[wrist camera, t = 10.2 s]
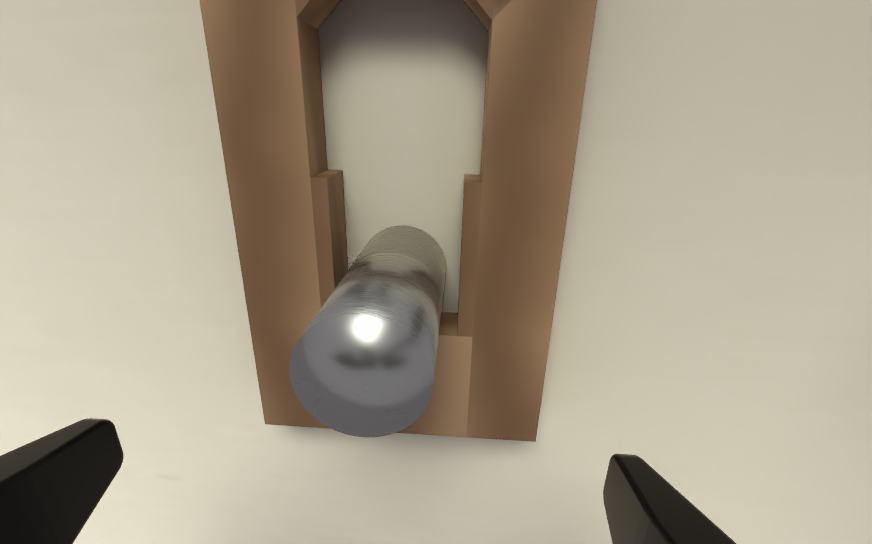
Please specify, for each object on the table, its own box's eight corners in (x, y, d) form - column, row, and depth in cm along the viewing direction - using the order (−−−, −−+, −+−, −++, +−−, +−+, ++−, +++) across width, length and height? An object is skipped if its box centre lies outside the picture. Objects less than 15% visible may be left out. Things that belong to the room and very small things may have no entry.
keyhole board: (596, -121, 13) (619, -160, 11) (528, 410, 20) (535, 441, 18) (215, -121, 13) (175, -157, 12) (283, 395, 21) (264, 424, 19)
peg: (447, 227, 17) (434, 318, 10) (444, 307, 18) (431, 441, 11) (360, 224, 17) (281, 310, 10) (363, 303, 19) (296, 432, 11)
